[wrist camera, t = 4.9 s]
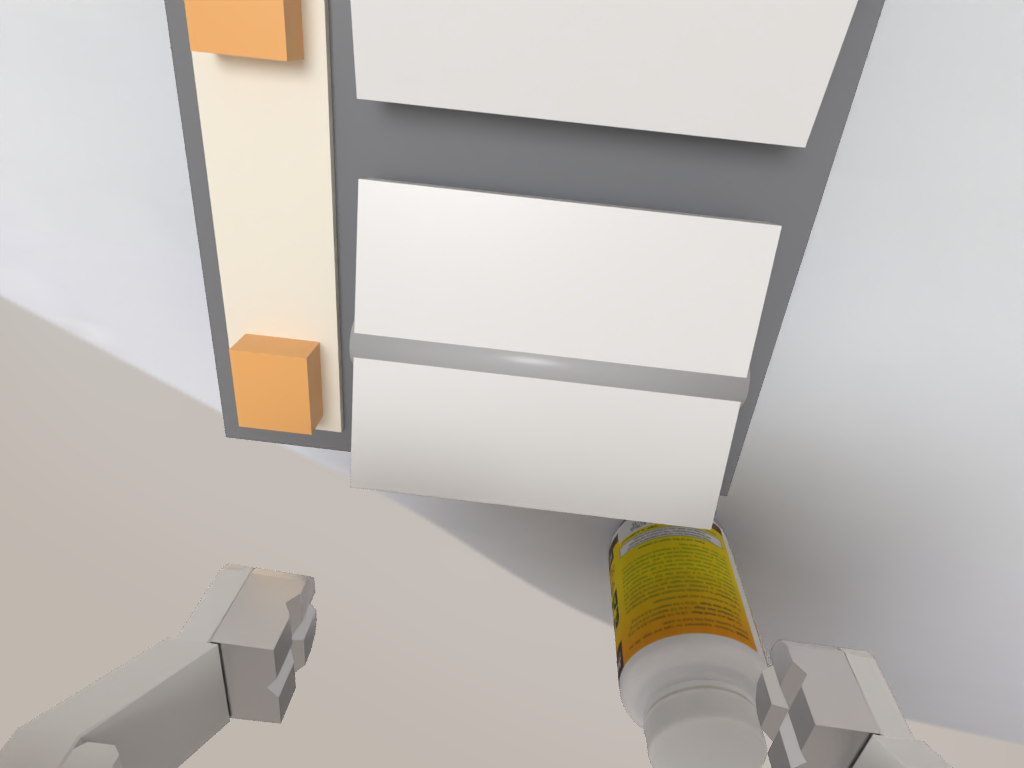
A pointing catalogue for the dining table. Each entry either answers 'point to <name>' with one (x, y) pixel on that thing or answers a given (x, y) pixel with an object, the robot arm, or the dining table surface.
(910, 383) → the dining table surface
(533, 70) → the rocker
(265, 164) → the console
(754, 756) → the supplement bottle
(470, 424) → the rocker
